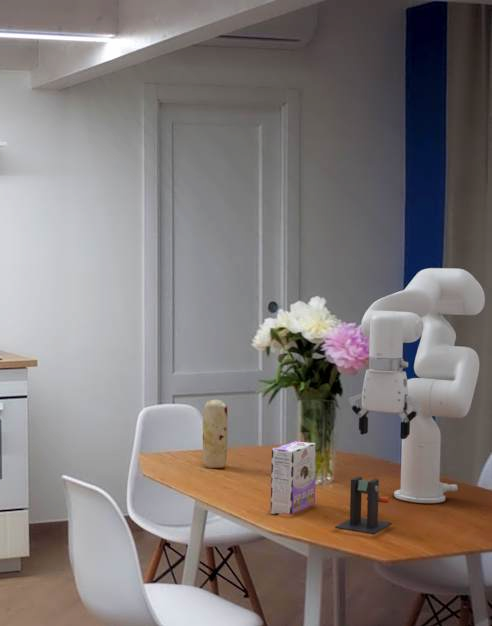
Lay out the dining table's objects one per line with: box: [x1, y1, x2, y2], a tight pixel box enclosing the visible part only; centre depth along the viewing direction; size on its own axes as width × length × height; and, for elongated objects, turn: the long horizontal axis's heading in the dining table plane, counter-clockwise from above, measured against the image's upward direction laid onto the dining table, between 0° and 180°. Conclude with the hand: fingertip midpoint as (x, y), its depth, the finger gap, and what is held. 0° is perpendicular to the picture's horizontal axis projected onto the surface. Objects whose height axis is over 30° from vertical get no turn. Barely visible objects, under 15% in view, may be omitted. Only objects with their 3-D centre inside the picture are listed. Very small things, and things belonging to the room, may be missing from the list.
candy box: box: [269, 440, 317, 516], centre depth 264 cm, size 14×6×16 cm, turn 141°
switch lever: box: [357, 479, 390, 504], centre depth 250 cm, size 12×5×2 cm, turn 143°
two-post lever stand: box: [334, 476, 393, 535], centre depth 247 cm, size 12×9×12 cm
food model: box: [202, 399, 229, 469], centre depth 318 cm, size 10×7×20 cm
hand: (383, 435), depth 256 cm, fingers open, 9 cm apart
